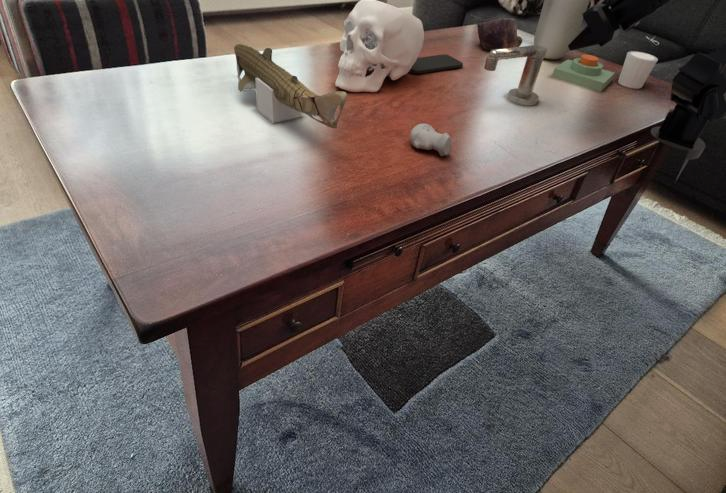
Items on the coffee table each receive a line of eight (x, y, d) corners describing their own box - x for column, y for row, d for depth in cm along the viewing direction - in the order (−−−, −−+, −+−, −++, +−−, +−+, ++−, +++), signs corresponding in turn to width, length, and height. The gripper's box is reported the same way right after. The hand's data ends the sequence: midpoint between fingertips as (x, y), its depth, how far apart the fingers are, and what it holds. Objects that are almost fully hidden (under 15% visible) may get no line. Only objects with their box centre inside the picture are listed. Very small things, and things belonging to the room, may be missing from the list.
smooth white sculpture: (403, 148, 85) (424, 134, 87) (434, 168, 80) (456, 152, 82) (400, 128, 82) (423, 114, 83) (433, 147, 77) (456, 132, 79)
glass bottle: (544, 49, 134) (582, -69, 117) (574, 62, 128) (619, -61, 110) (521, 53, 130) (557, -69, 112) (551, 66, 124) (594, -61, 106)
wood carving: (317, 168, 75) (319, 100, 68) (220, 87, 95) (214, 27, 88) (362, 154, 80) (369, 89, 73) (261, 80, 100) (258, 23, 93)
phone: (397, 60, 114) (446, 53, 121) (396, 63, 115) (445, 57, 121) (415, 71, 109) (465, 63, 116) (414, 75, 110) (464, 67, 117)
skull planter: (307, 72, 100) (343, -22, 94) (362, 96, 116) (396, 17, 111) (353, 95, 93) (395, -5, 88) (405, 117, 109) (443, 34, 104)
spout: (533, 59, 101) (539, 41, 99) (545, 65, 99) (551, 47, 97) (480, 66, 95) (484, 47, 93) (491, 72, 93) (496, 53, 91)
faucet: (541, 100, 105) (555, 57, 100) (530, 108, 101) (544, 64, 95) (514, 91, 108) (526, 49, 102) (502, 98, 104) (515, 55, 98)
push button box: (611, 81, 119) (618, 65, 116) (600, 92, 113) (607, 75, 110) (564, 67, 124) (570, 51, 121) (551, 77, 117) (557, 60, 115)
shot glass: (623, 77, 122) (635, 49, 118) (649, 86, 119) (663, 57, 114) (610, 81, 119) (622, 53, 114) (636, 91, 115) (650, 62, 110)
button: (597, 65, 116) (600, 57, 115) (593, 68, 114) (596, 61, 113) (581, 60, 118) (584, 53, 117) (576, 64, 115) (579, 56, 114)
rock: (487, 46, 136) (465, 50, 130) (492, 13, 132) (469, 16, 126) (523, 52, 129) (501, 57, 123) (529, 17, 124) (507, 20, 118)
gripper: (646, -58, 83) (565, 4, 95) (616, -53, 71) (527, 17, 83) (677, -1, 84) (593, 53, 96) (652, 13, 72) (559, 73, 84)
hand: (569, 48), depth 90 cm, fingers closed
